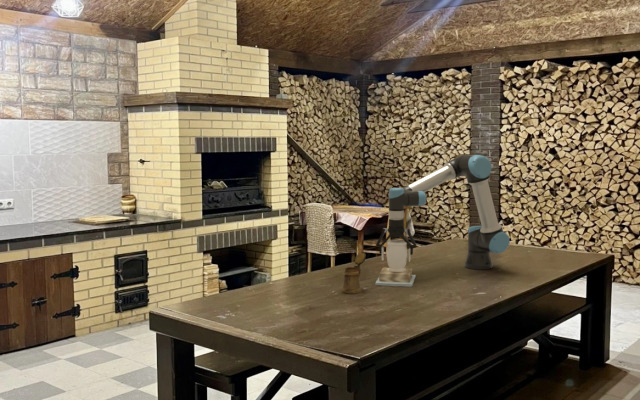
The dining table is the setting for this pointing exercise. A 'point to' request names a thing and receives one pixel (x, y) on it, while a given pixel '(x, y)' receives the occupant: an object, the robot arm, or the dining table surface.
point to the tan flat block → (395, 275)
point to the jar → (396, 255)
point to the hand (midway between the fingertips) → (396, 260)
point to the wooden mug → (353, 275)
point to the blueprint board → (396, 283)
